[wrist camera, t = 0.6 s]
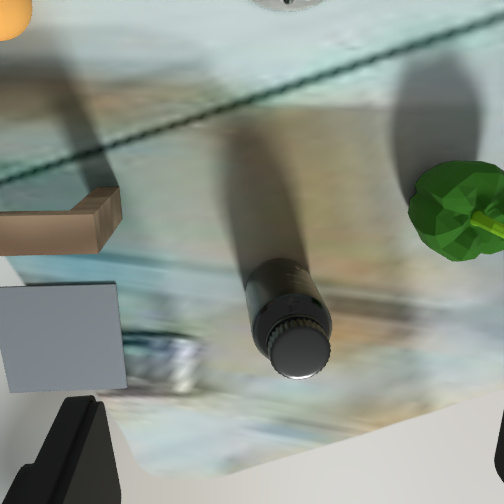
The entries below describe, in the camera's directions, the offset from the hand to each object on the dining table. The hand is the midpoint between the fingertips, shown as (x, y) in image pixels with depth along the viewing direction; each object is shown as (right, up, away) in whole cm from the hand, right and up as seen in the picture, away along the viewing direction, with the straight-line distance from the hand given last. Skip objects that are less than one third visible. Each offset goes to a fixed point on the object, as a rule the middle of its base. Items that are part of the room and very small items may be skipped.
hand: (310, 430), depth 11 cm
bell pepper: (+16, +9, +34) cm, 39 cm away
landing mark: (-21, -5, +36) cm, 42 cm away
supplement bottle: (+1, 0, +36) cm, 36 cm away
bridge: (-21, +8, +31) cm, 38 cm away
